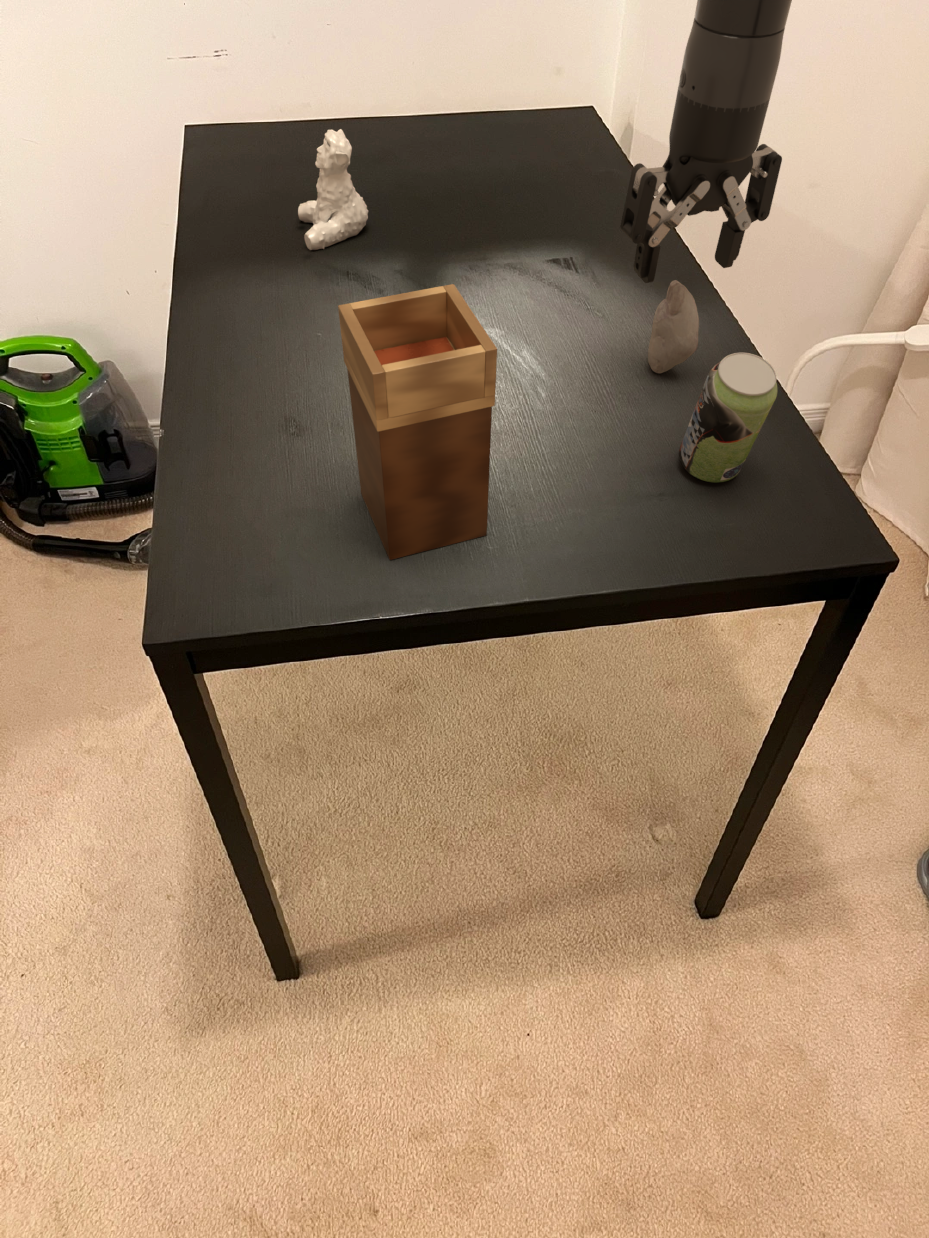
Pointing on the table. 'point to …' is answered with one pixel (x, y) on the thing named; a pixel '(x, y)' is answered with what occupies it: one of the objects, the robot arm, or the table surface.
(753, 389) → the beverage can
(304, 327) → the table surface
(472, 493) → the plinth
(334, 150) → the white creature statuette
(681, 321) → the fossil
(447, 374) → the open wooden box
